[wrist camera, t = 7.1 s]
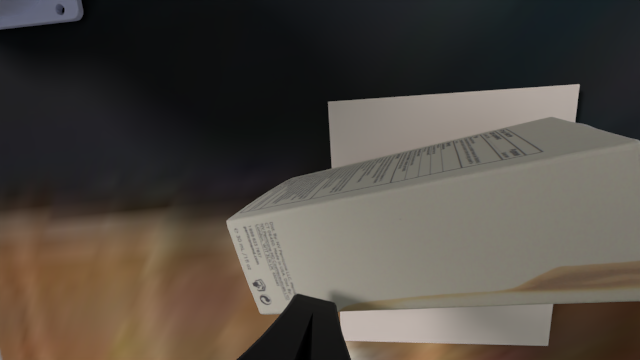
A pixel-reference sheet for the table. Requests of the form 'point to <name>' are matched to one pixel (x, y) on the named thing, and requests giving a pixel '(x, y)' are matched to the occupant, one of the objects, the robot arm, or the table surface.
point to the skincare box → (455, 225)
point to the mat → (428, 129)
